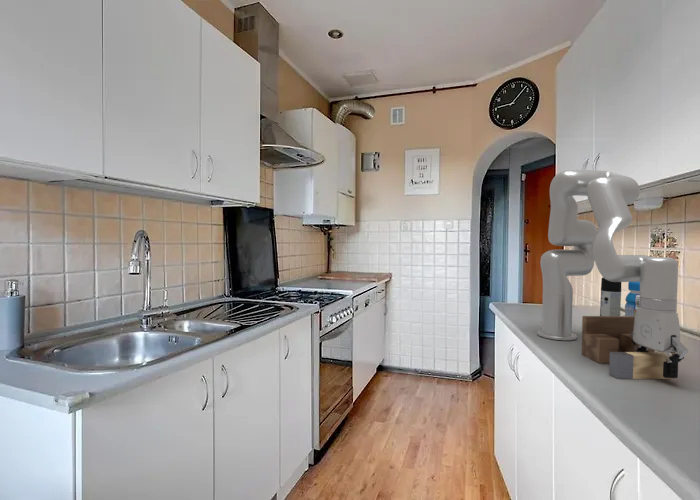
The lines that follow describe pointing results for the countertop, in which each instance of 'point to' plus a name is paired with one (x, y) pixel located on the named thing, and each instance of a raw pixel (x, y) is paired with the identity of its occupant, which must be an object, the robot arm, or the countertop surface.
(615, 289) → the spray can
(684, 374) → the countertop surface
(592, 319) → the wooden two-prong bracket
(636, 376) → the silver and tan rail
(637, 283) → the beverage bottle
